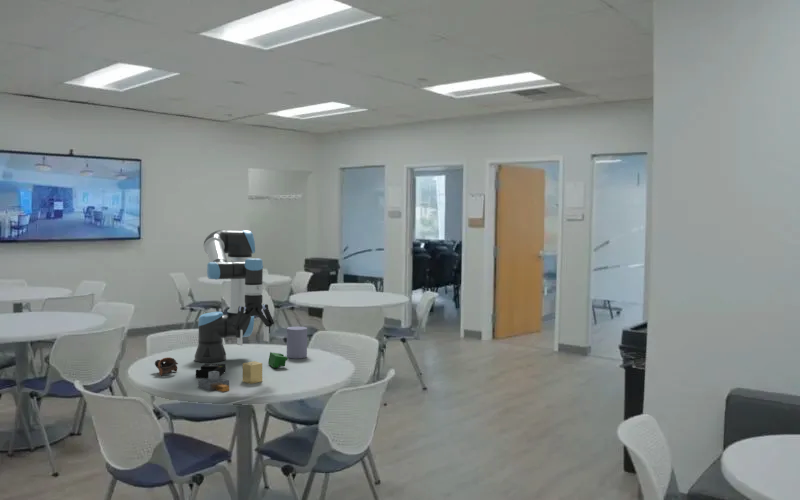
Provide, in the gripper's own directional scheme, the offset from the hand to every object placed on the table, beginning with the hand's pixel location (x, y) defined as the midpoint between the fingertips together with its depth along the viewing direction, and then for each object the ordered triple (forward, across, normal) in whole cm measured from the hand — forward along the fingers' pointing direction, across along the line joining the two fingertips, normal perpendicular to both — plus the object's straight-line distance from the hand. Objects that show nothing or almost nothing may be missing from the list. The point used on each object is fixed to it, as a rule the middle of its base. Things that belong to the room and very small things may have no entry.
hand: (253, 343), depth 276 cm
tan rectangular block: (+17, 0, 0) cm, 17 cm away
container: (+17, +46, +27) cm, 56 cm away
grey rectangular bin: (+17, -17, +3) cm, 24 cm away
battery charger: (+17, -6, +23) cm, 30 cm away
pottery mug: (+18, -19, +40) cm, 48 cm away
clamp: (+18, +26, +18) cm, 36 cm away
